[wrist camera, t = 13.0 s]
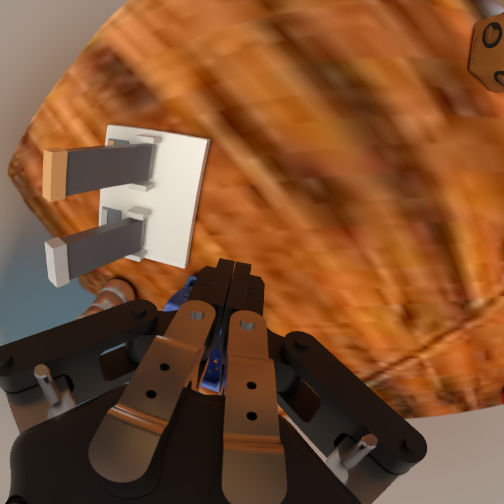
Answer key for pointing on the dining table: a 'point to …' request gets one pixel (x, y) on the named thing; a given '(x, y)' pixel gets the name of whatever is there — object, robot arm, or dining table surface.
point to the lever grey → (92, 249)
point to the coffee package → (489, 52)
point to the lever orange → (94, 168)
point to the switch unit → (159, 193)
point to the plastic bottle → (110, 297)
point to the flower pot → (213, 377)
